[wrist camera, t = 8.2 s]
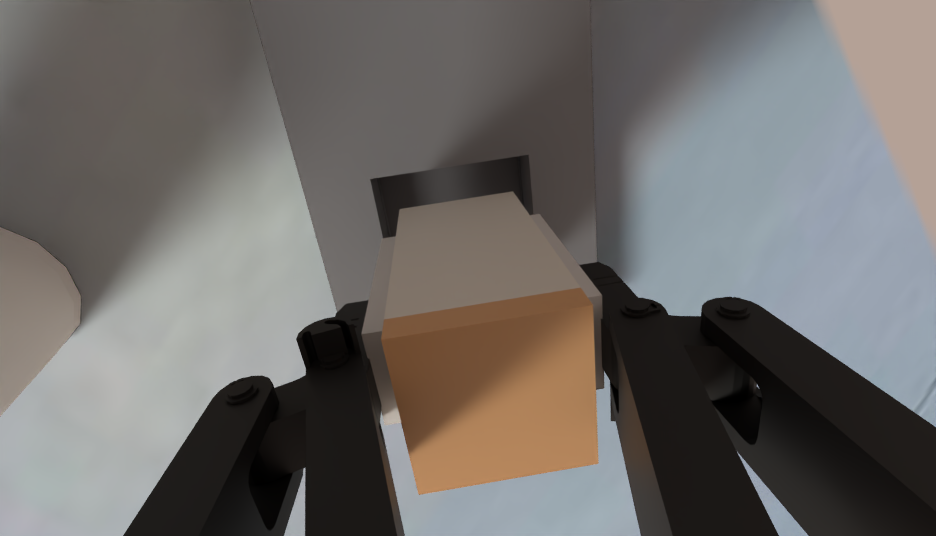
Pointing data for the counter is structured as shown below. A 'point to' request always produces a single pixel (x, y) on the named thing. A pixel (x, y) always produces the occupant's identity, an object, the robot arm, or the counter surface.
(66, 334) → the foam cup
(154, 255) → the counter surface
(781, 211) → the counter surface
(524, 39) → the socket strip
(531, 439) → the plug
